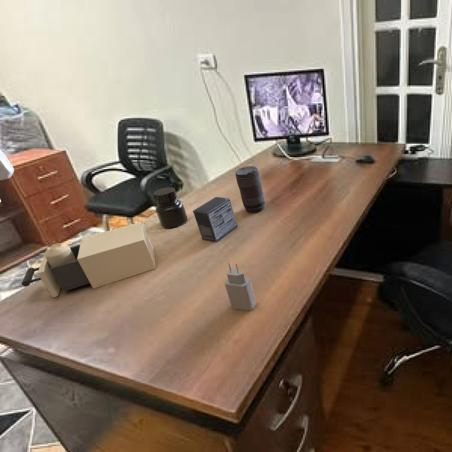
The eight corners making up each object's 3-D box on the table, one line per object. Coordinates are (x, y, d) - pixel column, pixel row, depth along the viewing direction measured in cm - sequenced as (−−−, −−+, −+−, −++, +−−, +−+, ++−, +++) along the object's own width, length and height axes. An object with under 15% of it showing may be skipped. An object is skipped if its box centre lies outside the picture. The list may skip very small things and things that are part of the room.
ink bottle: (187, 213, 128) (177, 183, 123) (190, 223, 121) (180, 191, 116) (159, 221, 125) (148, 190, 119) (160, 231, 118) (148, 199, 112)
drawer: (29, 304, 88) (13, 280, 84) (38, 281, 97) (23, 258, 93) (115, 277, 95) (103, 253, 91) (116, 257, 104) (105, 235, 100)
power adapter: (251, 311, 80) (239, 268, 74) (230, 308, 81) (217, 266, 75) (257, 302, 82) (246, 260, 76) (237, 299, 84) (225, 258, 78)
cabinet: (93, 288, 93) (77, 259, 88) (96, 265, 103) (81, 238, 98) (156, 268, 99) (144, 239, 94) (152, 248, 109) (141, 221, 104)
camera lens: (239, 210, 127) (229, 171, 120) (256, 202, 132) (248, 164, 125) (253, 216, 122) (244, 175, 115) (270, 207, 127) (263, 168, 120)
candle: (79, 280, 93) (62, 248, 88) (56, 285, 92) (37, 254, 87) (86, 268, 98) (69, 238, 93) (64, 273, 97) (46, 243, 92)
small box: (223, 223, 119) (215, 195, 114) (238, 226, 116) (231, 198, 111) (200, 239, 111) (191, 210, 106) (216, 242, 108) (207, 212, 103)
